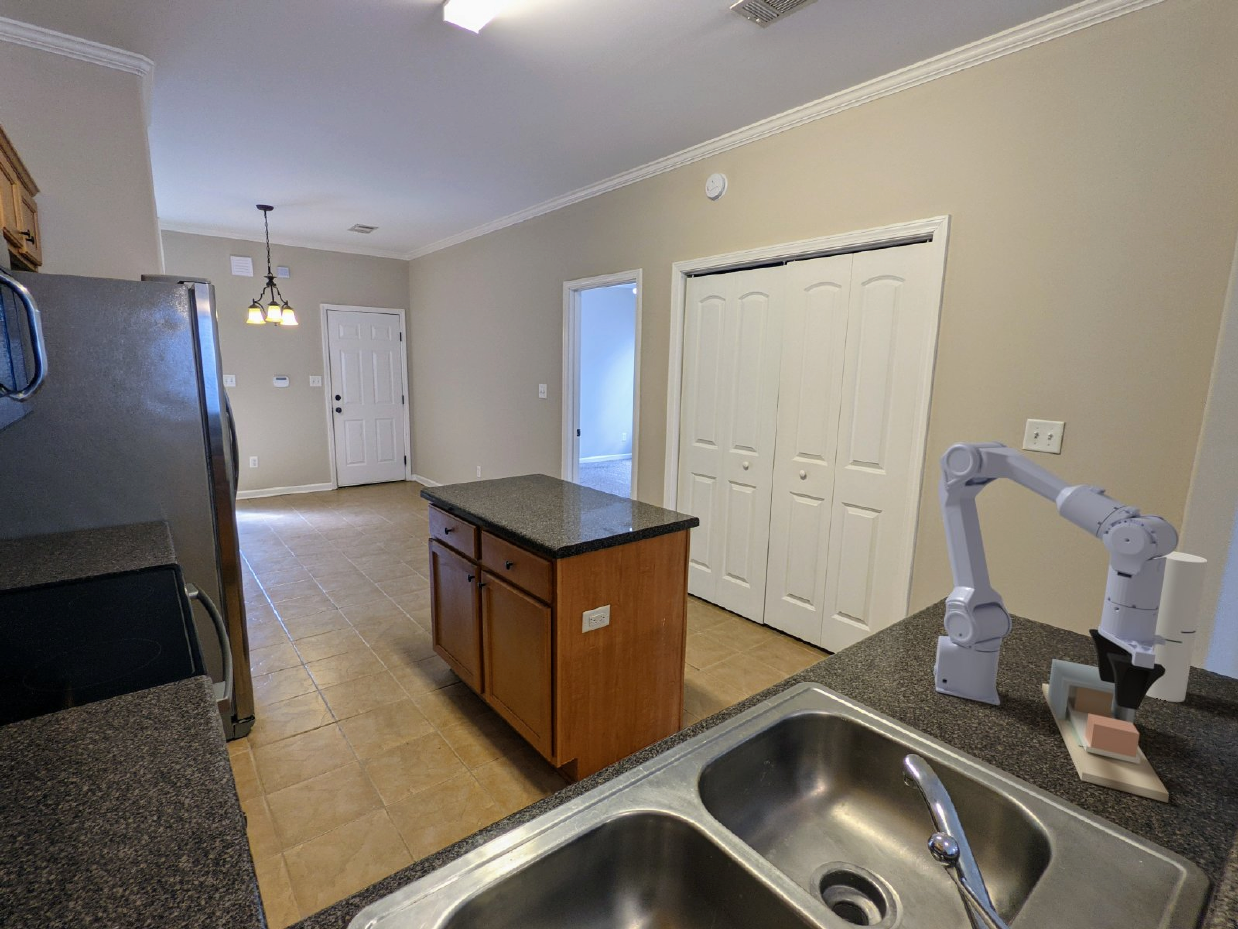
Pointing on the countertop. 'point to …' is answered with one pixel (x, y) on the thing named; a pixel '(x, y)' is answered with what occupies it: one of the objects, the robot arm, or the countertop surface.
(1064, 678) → the tunnel
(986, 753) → the countertop surface
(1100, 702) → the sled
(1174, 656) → the cylindrical container
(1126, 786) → the board
